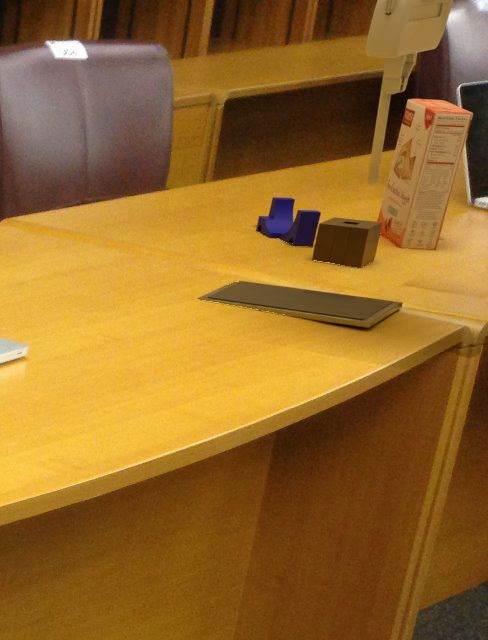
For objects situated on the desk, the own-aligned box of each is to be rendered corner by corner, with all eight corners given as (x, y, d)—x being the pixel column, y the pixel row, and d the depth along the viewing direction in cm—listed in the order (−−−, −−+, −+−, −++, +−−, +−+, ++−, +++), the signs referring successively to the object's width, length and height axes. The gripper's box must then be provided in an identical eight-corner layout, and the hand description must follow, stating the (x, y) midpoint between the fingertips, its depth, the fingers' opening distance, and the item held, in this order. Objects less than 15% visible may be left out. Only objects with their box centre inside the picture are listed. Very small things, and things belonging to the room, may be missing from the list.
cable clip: (254, 234, 249) (263, 196, 247) (282, 235, 249) (291, 197, 247) (282, 250, 239) (291, 211, 236) (311, 251, 239) (321, 212, 236)
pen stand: (373, 263, 231) (382, 222, 228) (359, 270, 226) (369, 228, 223) (325, 257, 235) (333, 217, 232) (310, 264, 230) (319, 223, 227)
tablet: (401, 307, 204) (403, 301, 204) (368, 327, 194) (370, 321, 194) (235, 284, 217) (236, 279, 217) (196, 303, 207) (197, 297, 206)
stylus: (378, 184, 195) (396, 65, 190) (375, 185, 195) (393, 66, 189) (368, 184, 196) (386, 65, 190) (365, 185, 195) (383, 66, 190)
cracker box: (371, 231, 252) (406, 97, 242) (410, 234, 251) (447, 99, 241) (395, 250, 239) (433, 109, 230) (436, 252, 239) (476, 111, 229)
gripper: (424, -27, 175) (396, 101, 181) (469, -31, 189) (441, 88, 195) (366, -28, 179) (340, 97, 185) (414, -32, 193) (389, 85, 199)
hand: (393, 92), depth 190 cm, fingers closed on stylus, 1 cm apart
